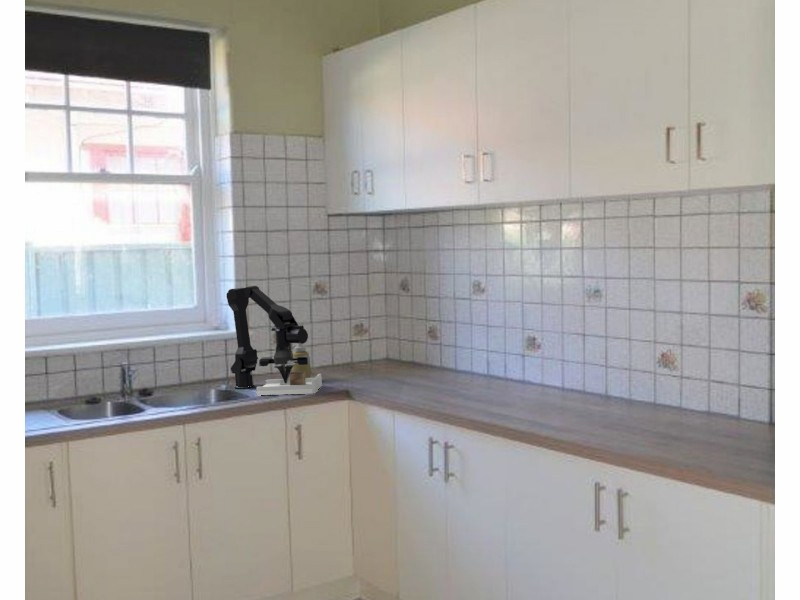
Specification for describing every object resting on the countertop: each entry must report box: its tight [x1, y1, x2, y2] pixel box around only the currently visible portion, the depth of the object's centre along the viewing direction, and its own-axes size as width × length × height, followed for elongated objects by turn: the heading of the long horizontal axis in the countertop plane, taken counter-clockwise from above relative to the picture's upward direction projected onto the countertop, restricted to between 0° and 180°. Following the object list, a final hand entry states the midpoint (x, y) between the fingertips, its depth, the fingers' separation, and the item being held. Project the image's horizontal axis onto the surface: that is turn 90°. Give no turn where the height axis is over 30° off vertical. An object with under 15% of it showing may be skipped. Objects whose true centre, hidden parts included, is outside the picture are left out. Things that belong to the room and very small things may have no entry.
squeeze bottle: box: [291, 343, 312, 378], centre depth 351 cm, size 8×8×18 cm
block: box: [289, 371, 306, 385], centre depth 331 cm, size 5×5×5 cm
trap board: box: [256, 373, 323, 397], centre depth 332 cm, size 22×16×5 cm
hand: (286, 383), depth 332 cm, fingers closed
